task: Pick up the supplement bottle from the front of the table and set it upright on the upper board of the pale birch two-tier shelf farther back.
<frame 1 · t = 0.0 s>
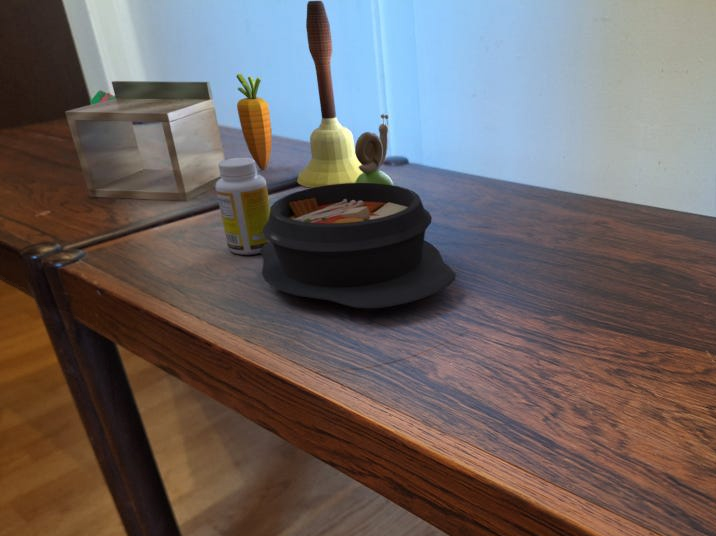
casserole: (355, 280, 74), on the table
shelf: (161, 187, 107), on the table
supplement bottle: (253, 249, 83), on the table
building blocks: (125, 122, 157), on the table
handbell: (336, 179, 111), on the table
snail figurine: (378, 210, 96), on the table
carrot: (263, 171, 116), on the table
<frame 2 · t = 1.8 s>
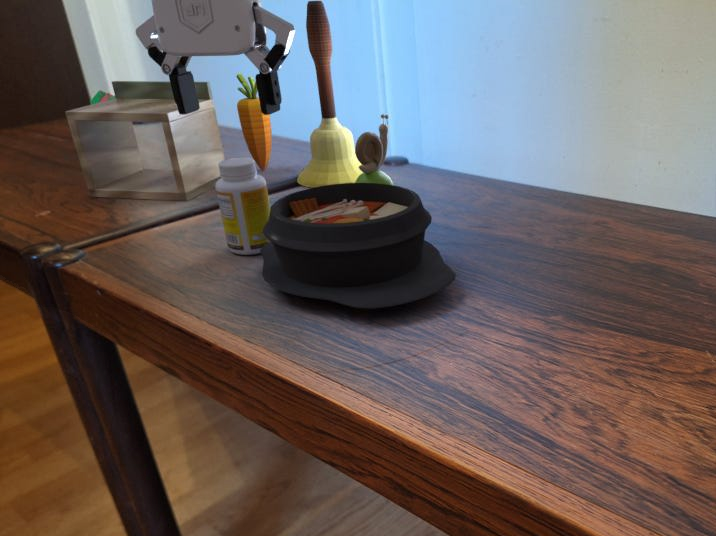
hand: (230, 112, 75), 16 cm above the table, tool pointing down, fingers open, 9 cm apart
nothing on the table moved.
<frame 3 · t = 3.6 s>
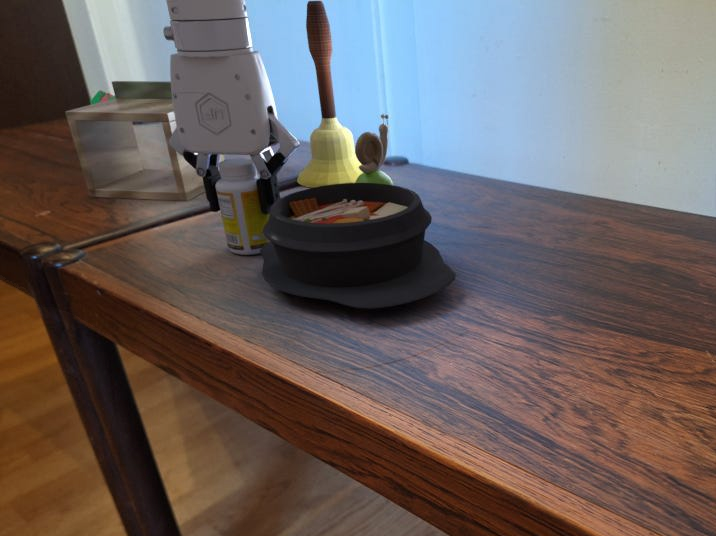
hand: (245, 208, 81), 5 cm above the table, tool pointing down, fingers closed on supplement bottle, 5 cm apart
supplement bottle: (253, 249, 83), on the table, touching gripper
everything else where it was.
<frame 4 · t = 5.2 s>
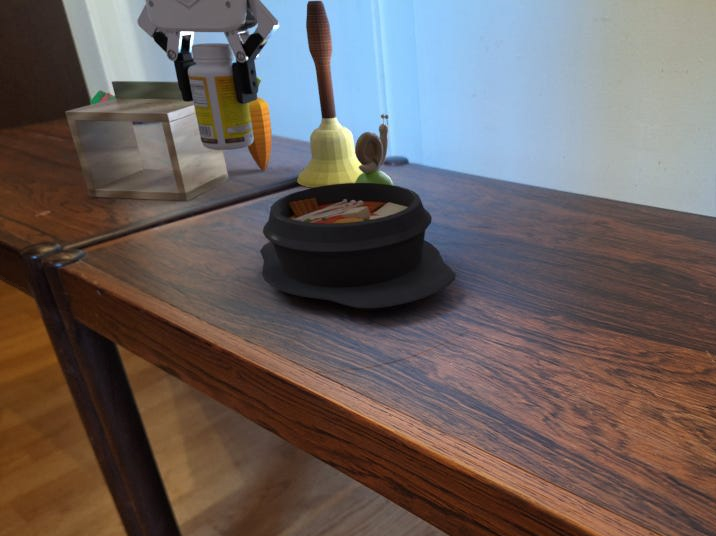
hand: (220, 98, 75), 17 cm above the table, tool pointing down, fingers closed on supplement bottle, 5 cm apart
supplement bottle: (228, 147, 77), point 12 cm above the table, touching gripper
everything else where it was.
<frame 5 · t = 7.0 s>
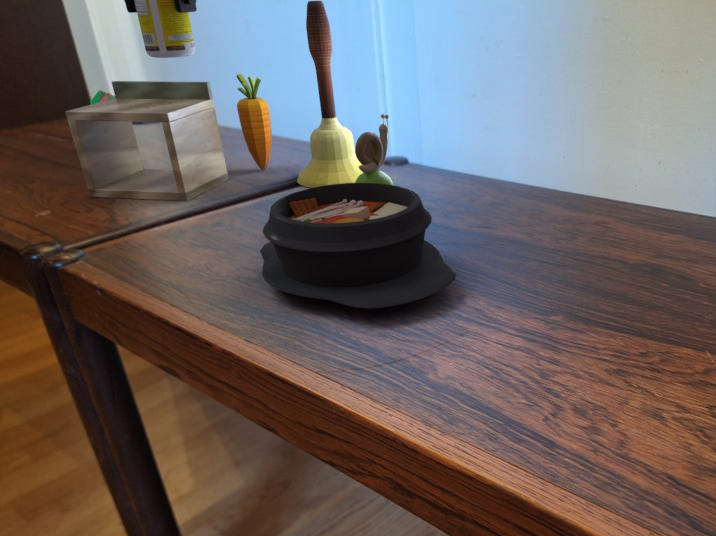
hand: (162, 10, 81), 25 cm above the table, tool pointing down, fingers closed on supplement bottle, 5 cm apart
supplement bottle: (172, 57, 83), point 20 cm above the table, touching gripper
everything else where it was.
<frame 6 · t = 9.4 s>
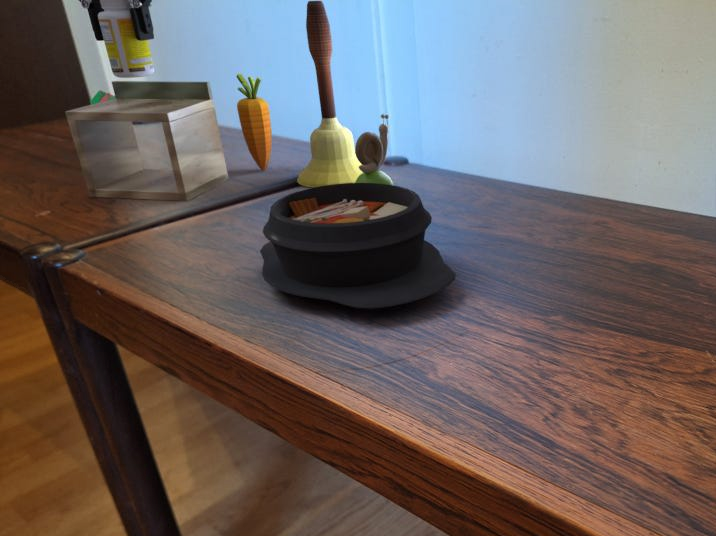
hand: (125, 38, 97), 21 cm above the table, tool pointing down, fingers closed on supplement bottle, 5 cm apart
supplement bottle: (135, 77, 100), point 16 cm above the table, touching gripper
everything else where it was.
when the fingers open (17 cm above the table, at t = 10.9 s): supplement bottle stays where it is, resting on shelf.
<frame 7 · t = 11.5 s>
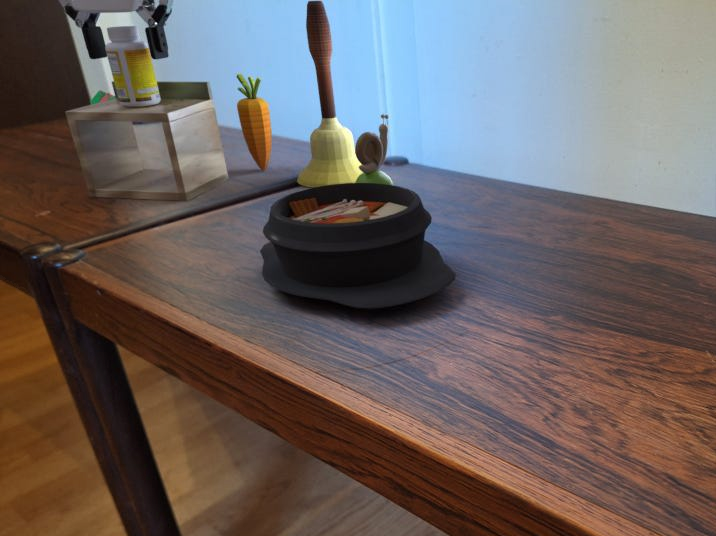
hand: (129, 58, 98), 18 cm above the table, tool pointing down, fingers open, 9 cm apart
supplement bottle: (141, 106, 102), point 12 cm above the table, touching shelf
everything else where it was.
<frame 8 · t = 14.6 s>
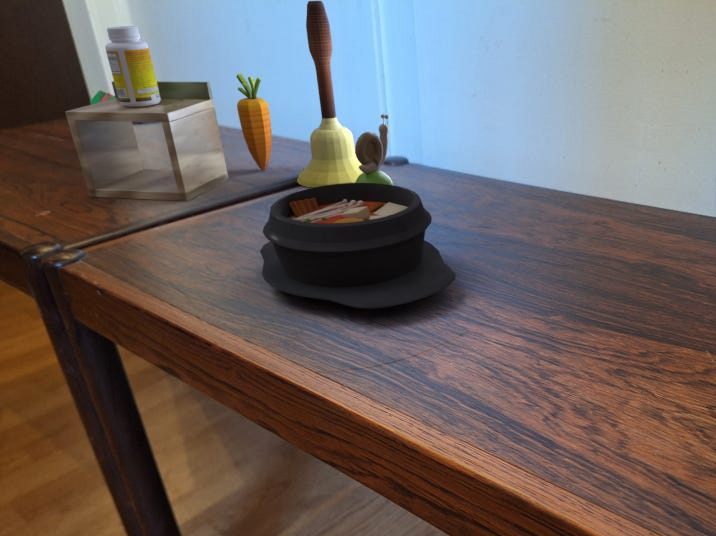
nothing on the table moved.
at the end: supplement bottle inside the target area on the shelf (0.0 cm from its centre), point 12.0 cm above the shelf's base; supplement bottle tilted 0°; the gripper is holding nothing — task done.
